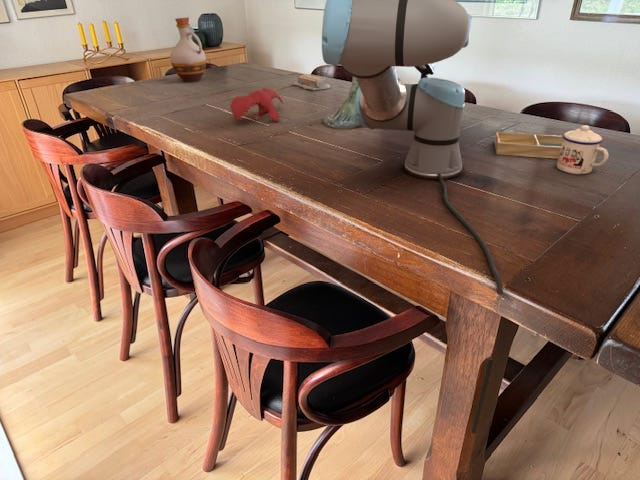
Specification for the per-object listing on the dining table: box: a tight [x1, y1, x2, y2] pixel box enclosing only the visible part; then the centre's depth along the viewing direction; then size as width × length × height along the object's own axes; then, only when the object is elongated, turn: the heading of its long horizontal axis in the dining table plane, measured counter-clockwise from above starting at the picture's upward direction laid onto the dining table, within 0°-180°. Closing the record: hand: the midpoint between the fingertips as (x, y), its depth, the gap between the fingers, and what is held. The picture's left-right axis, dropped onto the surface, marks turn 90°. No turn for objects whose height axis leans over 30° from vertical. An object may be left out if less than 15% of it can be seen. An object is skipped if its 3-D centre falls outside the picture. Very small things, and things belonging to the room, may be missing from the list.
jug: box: [169, 17, 207, 83], centre depth 230 cm, size 20×18×30 cm
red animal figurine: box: [229, 87, 284, 123], centre depth 168 cm, size 28×9×15 cm
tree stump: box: [322, 76, 362, 130], centre depth 164 cm, size 18×20×18 cm
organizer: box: [494, 131, 563, 160], centre depth 134 cm, size 11×22×3 cm, turn 75°
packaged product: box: [293, 73, 331, 92], centre depth 218 cm, size 18×5×10 cm
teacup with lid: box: [556, 124, 609, 175], centre depth 118 cm, size 12×9×12 cm
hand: (400, 87), depth 143 cm, fingers open, 13 cm apart
